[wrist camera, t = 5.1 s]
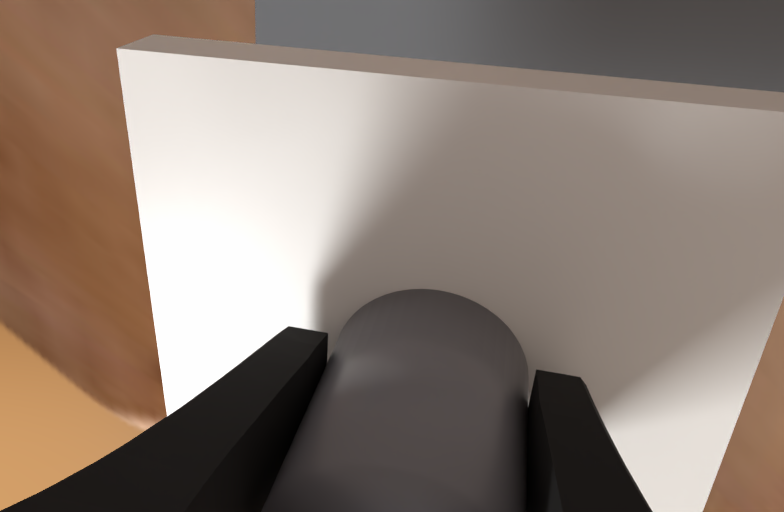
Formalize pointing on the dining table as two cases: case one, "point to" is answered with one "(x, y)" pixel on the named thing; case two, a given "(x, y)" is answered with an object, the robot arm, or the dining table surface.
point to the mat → (551, 35)
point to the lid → (458, 258)
